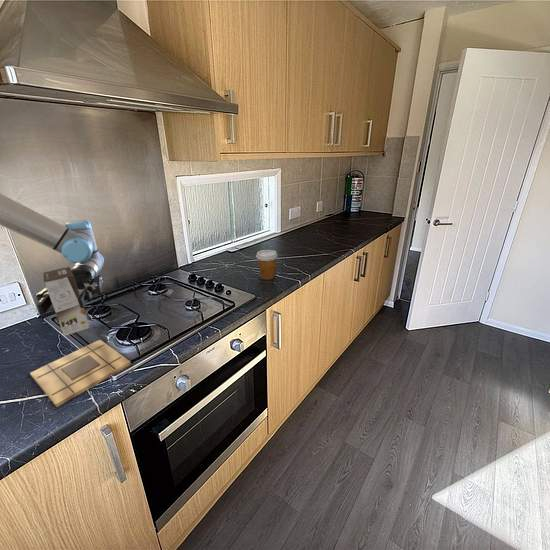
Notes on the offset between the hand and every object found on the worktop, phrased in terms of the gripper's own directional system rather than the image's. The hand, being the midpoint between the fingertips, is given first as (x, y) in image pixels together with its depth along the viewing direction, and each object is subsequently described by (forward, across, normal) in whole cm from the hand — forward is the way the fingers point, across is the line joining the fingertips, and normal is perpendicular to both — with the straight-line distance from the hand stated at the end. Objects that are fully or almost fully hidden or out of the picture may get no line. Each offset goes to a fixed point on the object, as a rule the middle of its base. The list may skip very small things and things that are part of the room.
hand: (61, 306), depth 76 cm
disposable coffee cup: (-36, -67, -18) cm, 78 cm away
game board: (+5, -1, -18) cm, 19 cm away
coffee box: (-5, 0, -9) cm, 10 cm away
